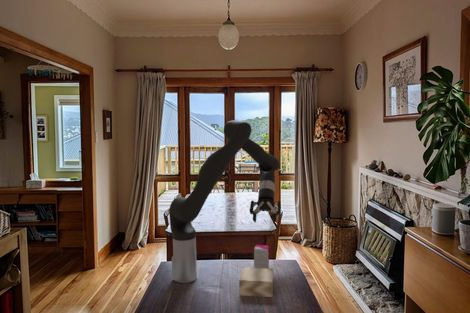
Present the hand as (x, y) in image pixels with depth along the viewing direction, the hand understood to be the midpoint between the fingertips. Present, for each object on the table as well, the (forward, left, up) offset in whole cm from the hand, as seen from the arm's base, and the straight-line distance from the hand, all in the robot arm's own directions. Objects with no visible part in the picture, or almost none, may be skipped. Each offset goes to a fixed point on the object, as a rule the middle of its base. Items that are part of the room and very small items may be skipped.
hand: (264, 221), depth 155 cm
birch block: (0, -26, -19) cm, 32 cm away
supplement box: (0, -12, -19) cm, 23 cm away
